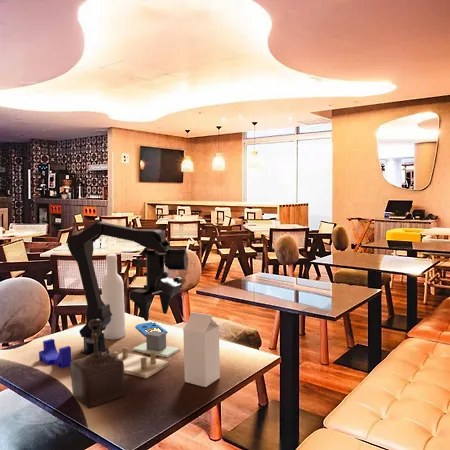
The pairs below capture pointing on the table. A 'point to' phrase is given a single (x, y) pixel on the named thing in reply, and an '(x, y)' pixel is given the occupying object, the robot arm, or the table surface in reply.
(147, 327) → the handheld gaming device
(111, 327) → the bottle
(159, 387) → the table surface
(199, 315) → the milk carton
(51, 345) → the cable clip
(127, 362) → the plate
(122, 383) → the pepper mill
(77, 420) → the table surface
